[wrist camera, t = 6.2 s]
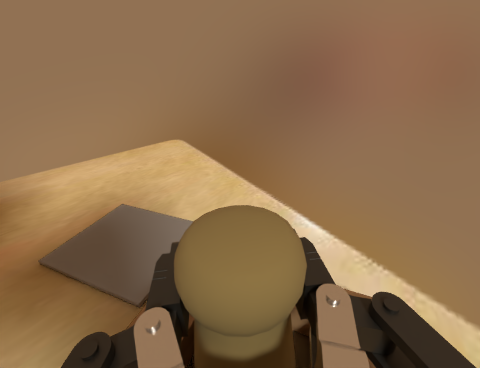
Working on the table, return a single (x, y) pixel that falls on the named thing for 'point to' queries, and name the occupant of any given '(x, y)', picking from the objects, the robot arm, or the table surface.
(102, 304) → the table surface
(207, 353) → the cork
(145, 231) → the rubber mat
